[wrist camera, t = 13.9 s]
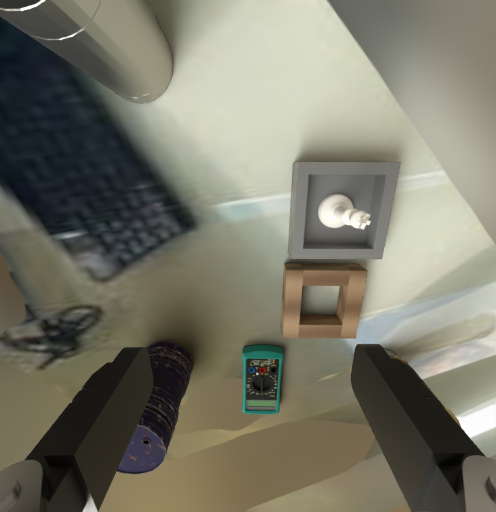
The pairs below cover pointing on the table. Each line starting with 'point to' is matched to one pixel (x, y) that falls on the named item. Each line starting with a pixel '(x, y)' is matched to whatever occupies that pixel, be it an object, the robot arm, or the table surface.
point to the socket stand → (322, 275)
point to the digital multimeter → (261, 379)
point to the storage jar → (159, 408)
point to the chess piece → (341, 213)
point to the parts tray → (363, 199)
